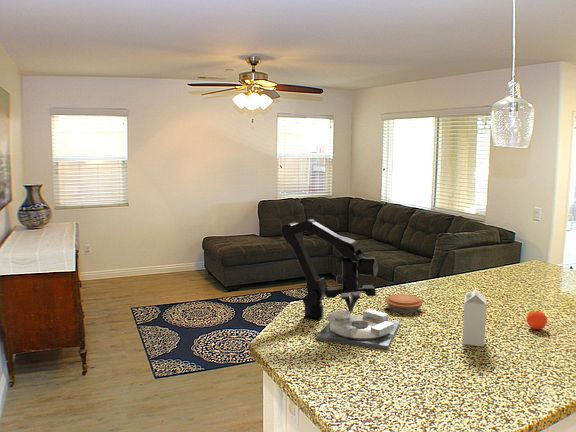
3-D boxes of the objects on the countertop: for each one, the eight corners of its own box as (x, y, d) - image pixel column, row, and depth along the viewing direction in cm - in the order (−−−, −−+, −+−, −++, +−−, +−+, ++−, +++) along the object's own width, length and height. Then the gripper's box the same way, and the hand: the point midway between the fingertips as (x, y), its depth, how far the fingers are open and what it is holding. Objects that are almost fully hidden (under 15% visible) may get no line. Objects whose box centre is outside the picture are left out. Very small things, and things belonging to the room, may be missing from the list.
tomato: (520, 328, 196) (521, 310, 195) (526, 323, 201) (527, 305, 200) (542, 333, 190) (544, 314, 189) (549, 328, 195) (550, 310, 194)
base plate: (316, 340, 184) (316, 335, 184) (335, 317, 208) (335, 313, 207) (387, 350, 176) (387, 345, 175) (399, 325, 199) (399, 321, 198)
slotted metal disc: (366, 345, 175) (367, 335, 175) (315, 328, 191) (315, 319, 191) (404, 327, 191) (404, 318, 191) (353, 313, 207) (353, 304, 207)
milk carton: (483, 339, 185) (486, 287, 182) (484, 347, 178) (487, 293, 175) (462, 337, 187) (465, 285, 184) (462, 344, 180) (464, 291, 177)
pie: (431, 310, 216) (431, 298, 215) (404, 317, 208) (404, 305, 207) (403, 301, 229) (403, 289, 228) (377, 307, 220) (377, 296, 219)
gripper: (370, 266, 207) (370, 304, 209) (322, 268, 206) (323, 306, 209) (376, 274, 196) (376, 314, 199) (326, 276, 195) (327, 316, 198)
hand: (350, 312), depth 201 cm, fingers closed
